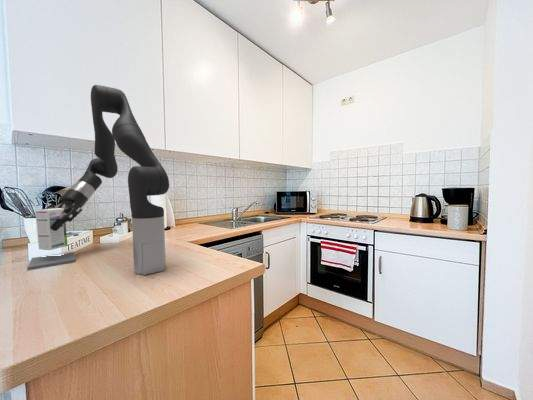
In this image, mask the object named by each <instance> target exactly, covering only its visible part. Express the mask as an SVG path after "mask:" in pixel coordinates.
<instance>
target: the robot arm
mask: <svg viewBox="0 0 533 400" xmlns="http://www.w3.org/2000/svg"><path fill="white" fill-rule="evenodd" d="M90 90H91V91H90V107H91V114H92V123H93V130H94V156H96V158H93V159H91V160H90V162H89V163H88V165H87V168H86V170H85V171H84V173H83V175H82V176H81V177H80V178H79V179H78V180H77V181H76V182H75V183H73V184H72V185H71V186H70V187H69V188H68V189H67V190H66V191H65V192H63V195H61V196H60V199H59V200H60V203H58V204H57V205H53V204H51V205H50V206H49V207H47V209H51V208H64V210H63V211H62V212H61V215H60V217H59V219H57V220H56V221H55V222H54V224H53V225H52V226H51V227H50V228H51V229H52V230H53V231H57V230H58V229H59V228H60V227H61V226H62V225H63V223H66V224H67V222H72V221H73V220H74V219H75V218H77V216H79V214H80V213H81V212H83V209H82V208H83V207H84V206H85V204H86V203H87V202H88V201H89V200H90V199H91V198H92V197H93V195H94V193H95V192H96V191H97V189H99V187H100V186H101V185H102V183H103V180H102V179H101V178H100V176H101V177H105V178H106V179H107V178H108V179H112V178H114V177H116V176H117V174H118V171H119V169H118V163H117V159H116V155H115V151H116V150H115V148H116V145H117V147H118V149H119V150H120V151H121V152H122V153H123V154H125V155H126V156H127V157H129V159H131V160H132V161H134V162H135V163H136V164H138V165H135V166H132V167H131V168H130V169H129V171H128V175H127V185H128V186H127V187H128V194H129V197H128V198H129V207H130V211H131V212H130V213H131V228H132V231H131V233H132V250H133V251H132V253H133V257H132V258H133V270H134V271H133V272H134V273H135V274H137V275H143V276H145V275H151V274H155V273H159V272H163V271H165V270H166V267H167V261H166V236H165V235H166V234H165V231H166V230H165V210H164V207H162V206H160V205H156V204H154V203H152V202H150V201H149V199H148V196H149V197H150V196H162V195H165V194H167V193H168V191H169V188H170V180H169V179H170V178H169V175H168V173H167V172H166V169H165V168H164V167H163V165H162V163H160V161H159V160H158V158H157V157H156V155H155V154H154V152H153V150H152V148H151V147H150V145H149V143H148V141H147V139H146V137H145V135H144V133H143V131H142V128H141V127H140V126H139V124H138V122H137V120H136V118H135V116H134V114H133V110H132V109H131V106H130V102H129V100H128V98H127V96H126V93H124V91H122V90H121V89H119V88H116V87H115V88H114V87H110V86H105V85H100V84H94V85H92V87H91V89H90ZM103 113H110V114H117V115H119V116H118V117H117V119H116V120H115V122H114V123H113V125H112V127H111V130H110V129H109V127H108V125H107V124H106V122H105V120H104V117H103Z"/></svg>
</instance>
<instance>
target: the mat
mask: <svg viewBox="0 0 533 400" xmlns="http://www.w3.org/2000/svg"><path fill="white" fill-rule="evenodd" d="M66 253H67V254H64V255H61V256H48V255H45V256H46V257H41V256H36V257H31V260H30V262H29V264H28V265H27V271H31V270H32V271H33V270H38V269H43V268H44V269H45V268H50V267H55V266H61V265H62V266H63V265H67V264H72V263H76V255H75V251H69V253H68V252H66Z"/></svg>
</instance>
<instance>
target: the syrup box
mask: <svg viewBox="0 0 533 400" xmlns="http://www.w3.org/2000/svg"><path fill="white" fill-rule="evenodd" d="M63 210H64V208H51V209H48V208H42V209H35V210H34V211H35V213H34V214H35V221H36V224H35V225H36V233H37V244H38V250H43V251H53V250H56V249H60V248H65V247H67V246H68V234H67V222H66V223H63V225H62V226H61V227H60V228H59V229H58V230H57V231H53V230H52V229H51V228H50V227H51V226H52V225H53V224H54V222H55V221H56V220H57V219H59V217H60V215H61V212H62V211H63Z"/></svg>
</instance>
